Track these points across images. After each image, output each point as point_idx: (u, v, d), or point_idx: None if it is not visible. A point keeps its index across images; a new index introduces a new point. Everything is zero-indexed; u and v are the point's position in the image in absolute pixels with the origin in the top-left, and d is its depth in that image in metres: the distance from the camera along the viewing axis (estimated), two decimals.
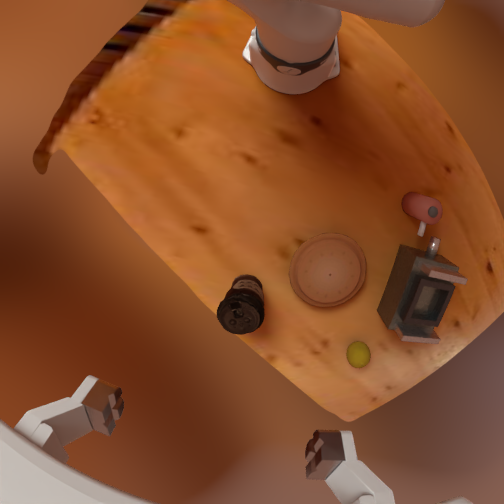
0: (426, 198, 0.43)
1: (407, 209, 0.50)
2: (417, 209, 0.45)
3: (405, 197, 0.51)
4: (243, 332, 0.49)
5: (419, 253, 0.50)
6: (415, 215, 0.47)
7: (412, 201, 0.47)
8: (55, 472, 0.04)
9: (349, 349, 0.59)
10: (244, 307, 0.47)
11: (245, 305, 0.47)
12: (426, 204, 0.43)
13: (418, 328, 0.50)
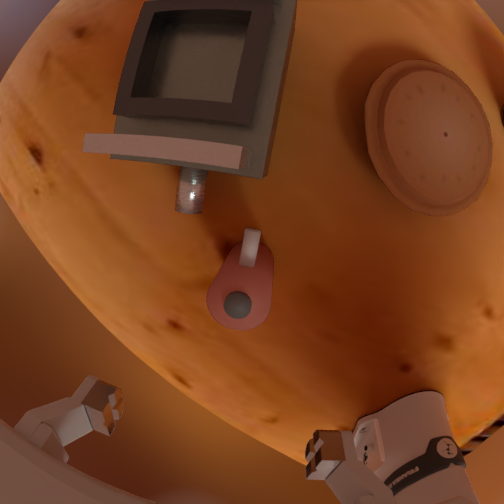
0: None
1: (271, 262, 0.26)
2: (271, 290, 0.22)
3: None
4: None
5: None
6: (265, 269, 0.23)
7: None
8: (55, 472, 0.04)
9: None
10: None
11: None
12: (258, 317, 0.21)
13: None
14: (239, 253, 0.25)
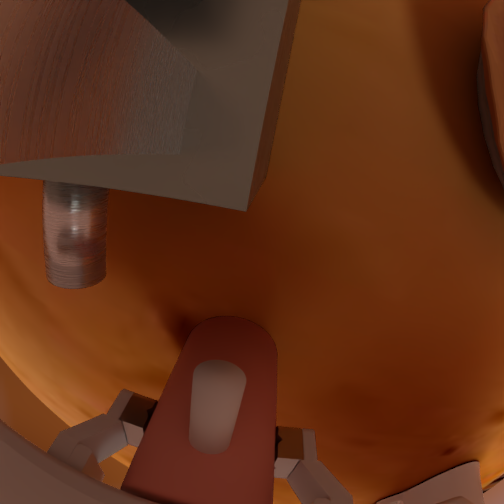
0: None
1: (273, 377, 0.11)
2: (273, 475, 0.07)
3: None
4: None
5: None
6: (261, 426, 0.08)
7: None
8: (55, 472, 0.04)
9: None
10: None
11: None
12: None
13: None
14: None
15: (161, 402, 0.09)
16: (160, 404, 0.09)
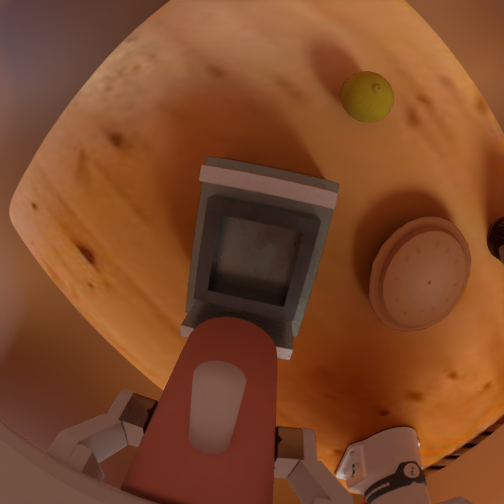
0: None
1: (272, 378, 0.11)
2: (273, 475, 0.07)
3: None
4: None
5: None
6: (260, 426, 0.08)
7: None
8: (55, 472, 0.04)
9: None
10: None
11: None
12: None
13: None
14: None
15: (161, 403, 0.09)
16: (160, 405, 0.09)
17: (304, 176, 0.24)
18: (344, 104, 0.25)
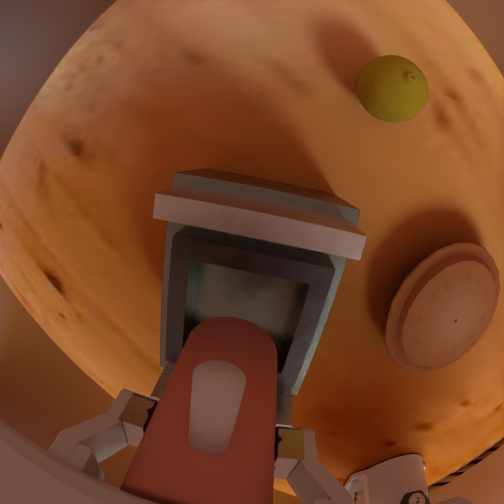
0: None
1: (272, 378, 0.11)
2: (273, 475, 0.07)
3: None
4: None
5: None
6: (260, 426, 0.08)
7: None
8: (55, 472, 0.04)
9: None
10: None
11: None
12: None
13: None
14: None
15: (161, 403, 0.09)
16: (160, 405, 0.09)
17: (311, 200, 0.17)
18: (363, 98, 0.18)
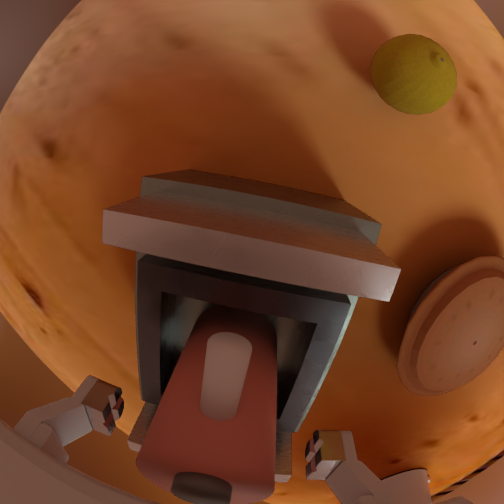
0: None
1: (273, 358, 0.13)
2: (275, 445, 0.09)
3: None
4: None
5: None
6: (263, 399, 0.10)
7: None
8: (55, 472, 0.04)
9: None
10: None
11: None
12: (247, 498, 0.07)
13: None
14: (206, 355, 0.11)
15: (173, 380, 0.10)
16: (172, 381, 0.10)
17: (320, 211, 0.13)
18: (379, 83, 0.14)
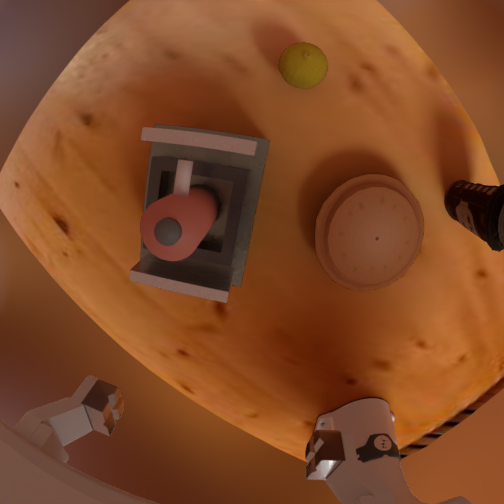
0: None
1: (213, 202, 0.26)
2: (205, 221, 0.22)
3: (215, 221, 0.28)
4: None
5: None
6: (202, 202, 0.23)
7: (210, 227, 0.25)
8: (55, 472, 0.04)
9: None
10: None
11: None
12: (189, 245, 0.21)
13: None
14: None
15: None
16: None
17: (237, 135, 0.26)
18: (281, 73, 0.27)
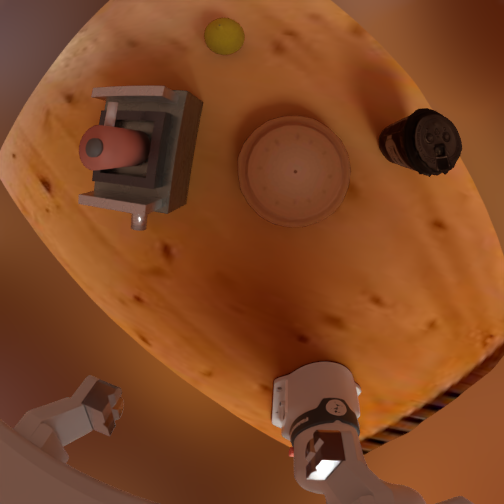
0: (109, 166, 0.26)
1: (140, 138, 0.30)
2: (123, 142, 0.26)
3: (145, 155, 0.32)
4: (434, 117, 0.24)
5: None
6: (125, 132, 0.27)
7: (133, 153, 0.29)
8: (55, 472, 0.04)
9: (241, 44, 0.31)
10: (433, 160, 0.26)
11: (432, 163, 0.26)
12: (107, 156, 0.25)
13: (134, 100, 0.30)
14: None
15: None
16: None
17: None
18: (207, 45, 0.31)
